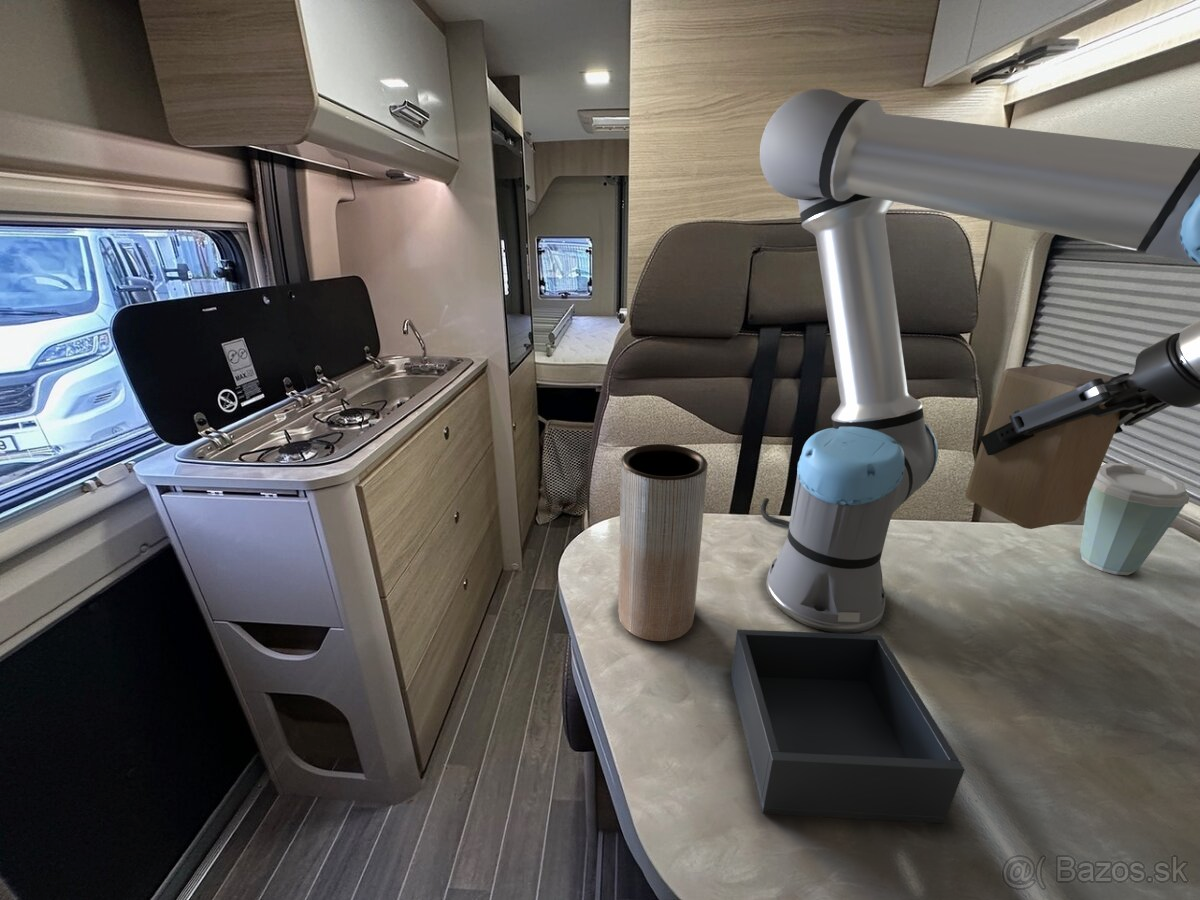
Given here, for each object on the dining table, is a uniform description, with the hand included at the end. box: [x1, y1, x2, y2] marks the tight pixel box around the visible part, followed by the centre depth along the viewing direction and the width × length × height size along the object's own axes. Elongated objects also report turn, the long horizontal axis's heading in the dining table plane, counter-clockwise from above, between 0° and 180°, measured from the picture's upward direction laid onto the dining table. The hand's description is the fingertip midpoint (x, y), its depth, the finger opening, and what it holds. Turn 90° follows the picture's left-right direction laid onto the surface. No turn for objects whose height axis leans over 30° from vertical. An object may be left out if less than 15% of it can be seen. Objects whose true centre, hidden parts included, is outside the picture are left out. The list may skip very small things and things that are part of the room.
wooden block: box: [964, 363, 1120, 530], centre depth 72 cm, size 10×10×20 cm
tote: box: [730, 629, 965, 824], centre depth 52 cm, size 16×16×7 cm
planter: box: [617, 443, 708, 642], centre depth 66 cm, size 10×10×23 cm
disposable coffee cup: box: [1079, 462, 1190, 576], centre depth 79 cm, size 11×11×15 cm
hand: (1020, 443), depth 75 cm, fingers closed on wooden block, 11 cm apart
